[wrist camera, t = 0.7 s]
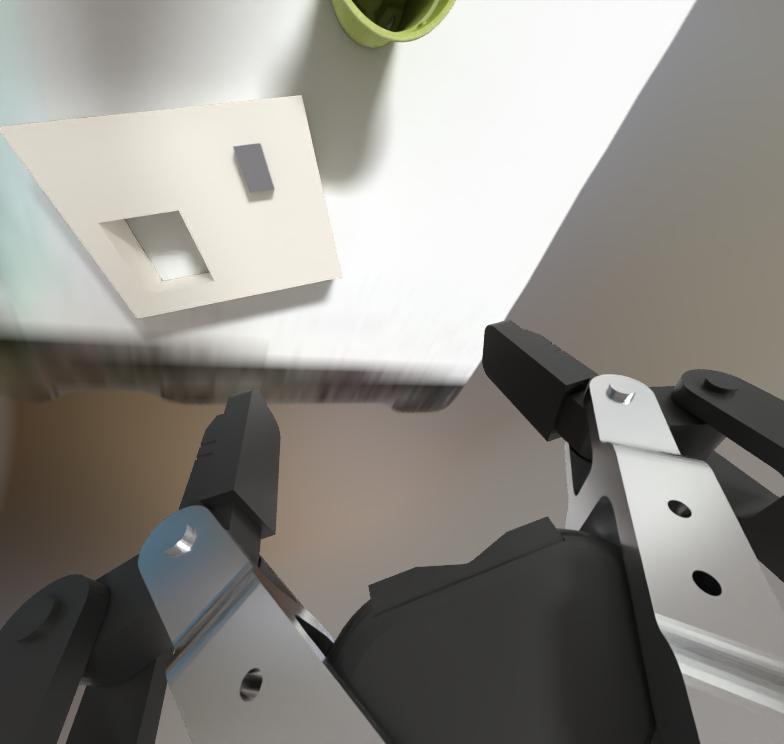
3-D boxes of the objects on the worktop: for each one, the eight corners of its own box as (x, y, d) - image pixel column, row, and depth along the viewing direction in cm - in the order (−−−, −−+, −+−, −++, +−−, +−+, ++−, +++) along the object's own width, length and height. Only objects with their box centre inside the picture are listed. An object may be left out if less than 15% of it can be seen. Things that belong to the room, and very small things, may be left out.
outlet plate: (39, 132, 22) (-15, 125, 18) (300, 104, 25) (301, 92, 21) (153, 303, 30) (133, 322, 26) (337, 266, 33) (343, 279, 29)
